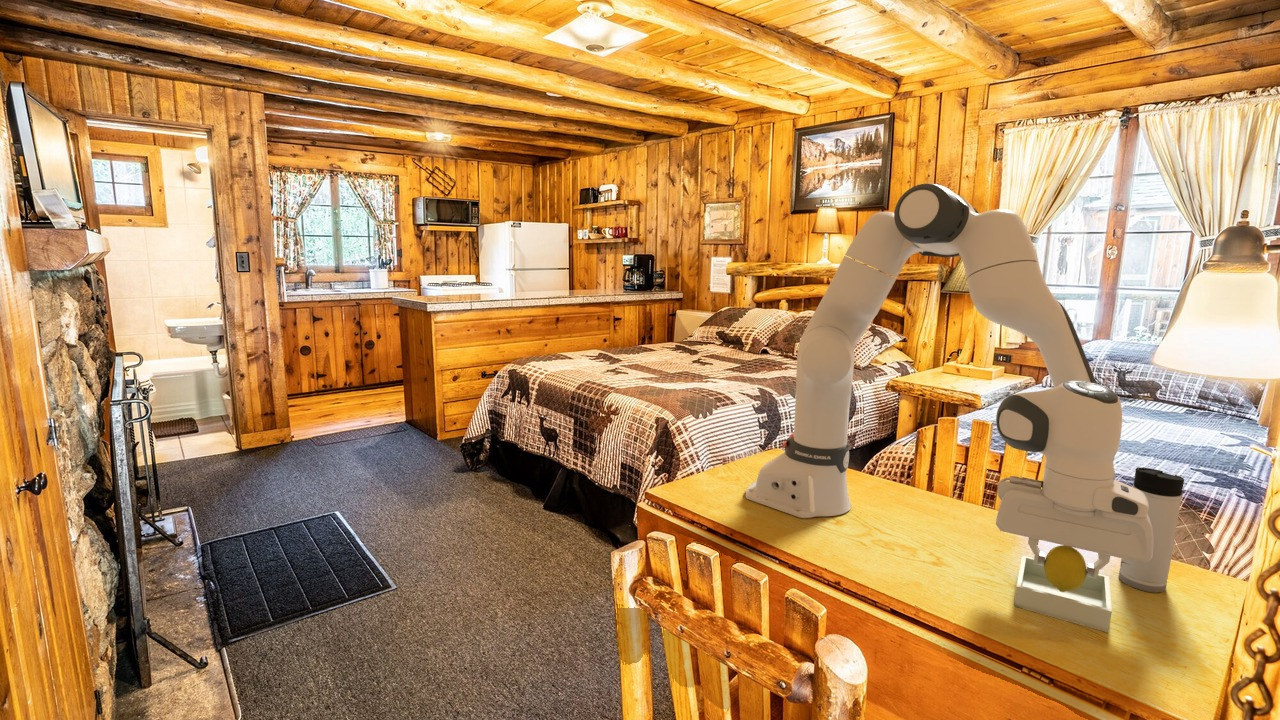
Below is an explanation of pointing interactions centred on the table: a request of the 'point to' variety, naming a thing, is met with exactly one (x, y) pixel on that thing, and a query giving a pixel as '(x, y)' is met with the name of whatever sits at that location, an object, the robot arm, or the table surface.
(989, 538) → the table surface
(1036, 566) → the bin
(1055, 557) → the lemon
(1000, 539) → the table surface
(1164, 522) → the travel mug
